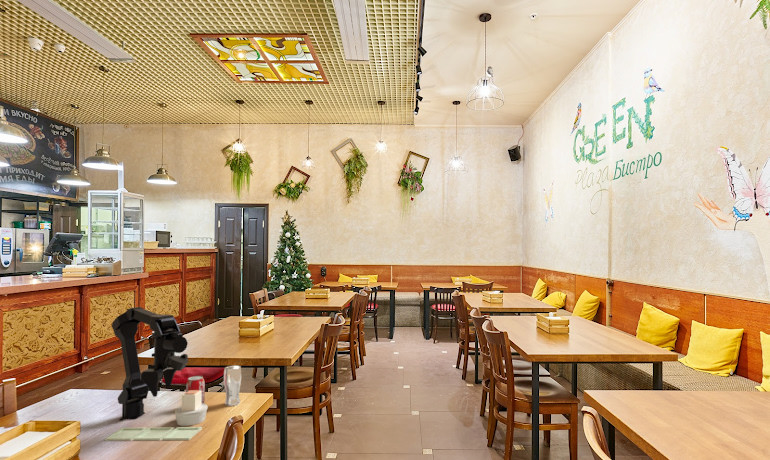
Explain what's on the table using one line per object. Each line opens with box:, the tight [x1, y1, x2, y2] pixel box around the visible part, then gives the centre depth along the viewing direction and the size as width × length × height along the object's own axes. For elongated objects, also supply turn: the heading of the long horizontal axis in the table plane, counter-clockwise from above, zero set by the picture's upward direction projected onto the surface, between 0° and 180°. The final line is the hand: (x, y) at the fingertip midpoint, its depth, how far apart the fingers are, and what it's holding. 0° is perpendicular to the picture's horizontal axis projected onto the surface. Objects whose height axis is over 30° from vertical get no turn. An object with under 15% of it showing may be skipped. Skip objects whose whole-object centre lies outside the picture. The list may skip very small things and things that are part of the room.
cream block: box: [181, 390, 202, 411], centre depth 157 cm, size 5×5×6 cm
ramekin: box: [174, 403, 208, 427], centre depth 156 cm, size 11×11×5 cm
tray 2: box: [133, 426, 175, 441], centre depth 145 cm, size 9×9×1 cm
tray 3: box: [162, 426, 203, 441], centre depth 144 cm, size 9×9×1 cm
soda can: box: [185, 375, 206, 404], centre depth 172 cm, size 7×7×12 cm
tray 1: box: [104, 426, 148, 442], centre depth 145 cm, size 9×9×1 cm
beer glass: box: [223, 364, 242, 407], centre depth 176 cm, size 7×7×15 cm
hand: (161, 392), depth 154 cm, fingers open, 9 cm apart
